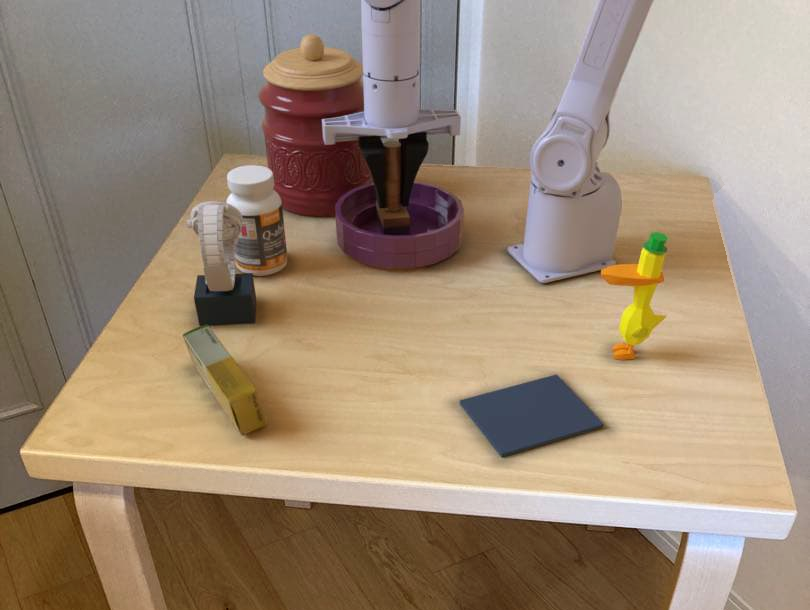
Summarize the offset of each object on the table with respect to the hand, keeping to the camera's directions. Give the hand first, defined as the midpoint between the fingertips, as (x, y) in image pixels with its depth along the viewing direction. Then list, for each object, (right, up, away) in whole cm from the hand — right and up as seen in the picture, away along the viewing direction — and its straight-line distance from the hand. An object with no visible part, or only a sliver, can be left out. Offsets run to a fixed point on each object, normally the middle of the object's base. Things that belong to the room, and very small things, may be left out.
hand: (392, 203), depth 94 cm
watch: (-17, -15, -9) cm, 24 cm away
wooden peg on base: (0, -2, +2) cm, 3 cm away
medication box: (-15, -25, -19) cm, 35 cm away
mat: (+13, -27, -21) cm, 36 cm away
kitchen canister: (-9, +5, +10) cm, 14 cm away
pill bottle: (-14, -8, -2) cm, 16 cm away
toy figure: (+22, -20, -14) cm, 33 cm away
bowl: (+1, -4, +1) cm, 4 cm away
